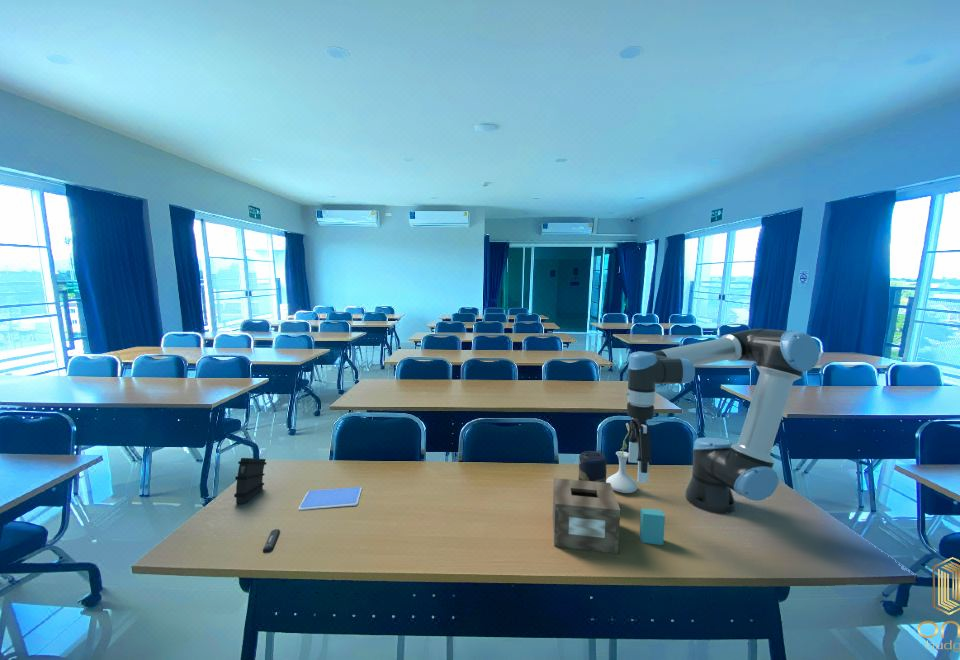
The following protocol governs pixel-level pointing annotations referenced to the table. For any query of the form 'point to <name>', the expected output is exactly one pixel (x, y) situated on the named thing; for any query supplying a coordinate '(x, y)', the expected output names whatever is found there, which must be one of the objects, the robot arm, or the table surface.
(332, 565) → the table surface
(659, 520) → the block
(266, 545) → the usb stick
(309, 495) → the tablet computer
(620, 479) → the flower in vase
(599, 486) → the suggestion box
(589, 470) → the canister
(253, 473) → the black flat ridged block
